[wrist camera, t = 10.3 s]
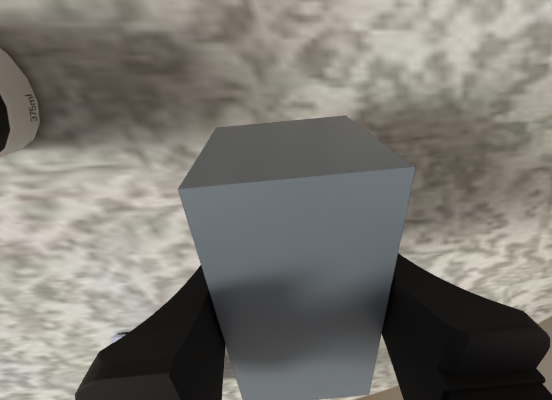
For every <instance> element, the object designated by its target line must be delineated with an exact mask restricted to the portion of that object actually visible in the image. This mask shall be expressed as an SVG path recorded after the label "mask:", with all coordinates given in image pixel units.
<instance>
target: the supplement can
mask: <svg viewBox="0 0 552 400" xmlns="http://www.w3.org/2000/svg"><path fill="white" fill-rule="evenodd" d="M39 124H40V118H39V109H38V101H37V99H36V97H35V94H34V92H33V90H32V88H31V86H30V83H29V81H28V79H27V77H26V76H25V75H24V74H23V72H22V71H21V70H20V69H19V67H18V66H17V65H16V64H15V62H14V61H13V60H12V59H11V57H10V56H9V55H8V54H7V53H6V52H4V51H3V50H2V49H1V48H0V157H2V156H4V155H7V154H10V153H13V152H16V151H19V150H21V149H23V148H24V147H25V146H26V145H27V144H29V143H30V142H31V141H32V140H33V139H34V138H35V135H36V132H37V129H38V127H39Z"/></svg>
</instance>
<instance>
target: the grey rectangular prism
mask: <svg viewBox="0 0 552 400" xmlns="http://www.w3.org/2000/svg"><path fill="white" fill-rule="evenodd" d="M414 172H415V166H414V165H412V164H411V163H410V162H408V161H407V160H405V159H404V158H403V157H401V156H400V155H399V154H397V153H396V152H395V151H393V150H392V149H391V148H389V147H388V146H386V145H385V144H384V143H382V142H381V141H380V140H378V139H377V138H376V137H374V136H373V135H371V134H370V133H369V132H367V131H366V130H365V129H363V128H362V127H361V126H359V125H358V124H356V123H355V122H354V121H352V120H351V119H350V118H348V117H347V116H336V117H325V118H315V119H304V120H294V121H283V122H273V123H262V124H251V125H241V126H230V127H220V128H216V129H215V131H214V132H213V134H212V135H211V137H210V139H209V140H208V142H207V143H206V145H205V147H204V148H203V150H202V151H201V153H200V155H199V156H198V158H197V159H196V161H195V163H194V164H193V166H192V167H191V169H190V171H189V172H188V174H187V175H186V177H185V179H184V180H183V182H182V183H181V185H180V187H179V188H178V191H179V195H180V198H181V201H182V204H183V208H184V211H185V214H186V217H187V221H188V224H189V227H190V230H191V234H192V237H193V240H194V243H195V247H196V250H197V253H198V256H199V260H200V263H201V266H202V269H203V273H204V276H205V279H206V282H207V285H208V289H209V292H210V295H211V298H212V302H213V305H214V308H215V311H216V315H217V318H218V321H219V324H220V328H221V331H222V334H223V337H224V341H225V344H226V347H227V350H228V354H229V357H230V360H231V363H232V367H233V370H234V373H235V376H236V380H237V383H238V386H239V389H240V393H241V396H242V399H243V400H318V399H328V398H339V397H349V396H360V395H369V392H370V387H371V382H372V377H373V372H374V367H375V362H376V358H377V353H378V348H379V343H380V338H381V333H382V328H383V323H384V318H385V314H386V309H387V304H388V299H389V294H390V289H391V284H392V279H393V274H394V270H395V265H396V260H397V255H398V250H399V245H400V240H401V235H402V230H403V226H404V221H405V216H406V211H407V206H408V201H409V196H410V191H411V186H412V182H413V177H414Z"/></svg>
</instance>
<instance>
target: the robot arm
mask: <svg viewBox="0 0 552 400" xmlns="http://www.w3.org/2000/svg"><path fill="white" fill-rule="evenodd" d="M382 336H383V339H384V341H385V344H386V347H387V350H388V353H389V356H390V359H391V362H392V365H393V368H394V371H395V374H396V377H397V380H398V383H399V386H400V389H401V393H402V396H403V399H404V400H552V394H551V393H550V392H549V391H548V390H547V389H546V387H545V386H544V385H543V384H542V383H544V382H545V378H544V377H543V376H542V374H541V373H540V372H539V371H538V370H537V369H536V368H537V366H538V365H539V363H540V362H541V360H542V359H543V358H544V356H545V355H546V353H547V351H548V350H549V348H550V337H549V336H548V334H547V333H546V332H545V331H544V330H543V329H542V328H541V327H540V326H539V325H538V324H537V323H535V322H534V321H533V320H532V319H531V318H530V317H529V316H528V315H527V314H526V313H525V312H524V311H521V310H518V309H515V308H512V307H509V306H506V305H503V304H500V303H497V302H494V301H491V300H489V299H486V298H484V297H481V296H479V295H476V294H473V293H471V292H469V291H466V290H464V289H462V288H459V287H457V286H455V285H453V284H451V283H449V282H446V281H444V280H442V279H440V278H438V277H436V276H434V275H433V274H431V273H429V272H427V271H425V270H424V269H422V268H420V267H418V266H417V265H415V264H414V263H412V262H410V261H409V260H407V259H406V258H404V257H403V256H401V255H400V254H398V255H397V260H396V265H395V270H394V274H393V279H392V284H391V289H390V294H389V299H388V304H387V309H386V314H385V318H384V323H383V328H382ZM111 340H112V342H113V343H112V344H111V345H109V346H108V347H106V348H105V349H103V350H101V351H100V352H99V353H98V355H97V357H96V358H95V360H94V361H93V363H92V365H91V366H90V368H89V370H88V372H87V374H86V375H85V377H84V379H83V381H82V383H81V384H80V386H79V388H78V390H77V392H76V394H75V400H222V384H223V370H224V357H225V345H226V344H225V341H224V337H223V334H222V331H221V328H220V324H219V321H218V318H217V315H216V311H215V308H214V305H213V302H212V298H211V295H210V292H209V289H208V285H207V282H206V279H205V276H204V273H203V269H202V266H200V267H199V268H198V269H197V271H196V272H195V273H194V274H193V276H192V277H191V278H190V279H189V280H188V281H187V283H186V284H185V285H184V286H183V287H182V288H181V289H180V290H179V291H178V292H177V293H176V294H175V295H174V296H173V297H172V298H171V299H170V300H169V301H168V302H167V303H166V304H165V305H163V306H162V307H161V308H160V309H159V310H158V311H156V312H155V313H154V314H153V315H152V316H150V317H149V318H148V319H147V320H145V321H144V322H143V323H141V324H140V325H139V326H137V327H136V328H135V329H133V330H132V331H130V332H129V333H128V334H121V335H114V336H113V337H112V339H111Z"/></svg>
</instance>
